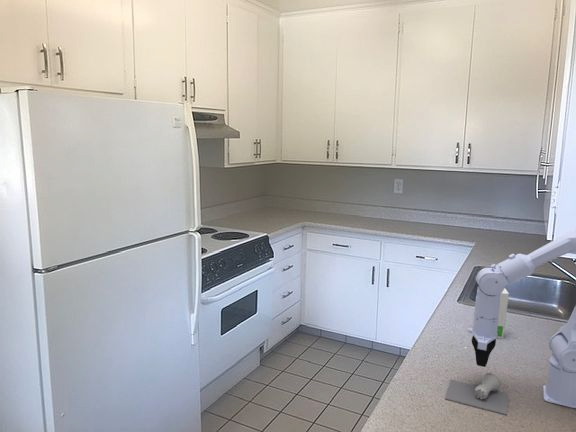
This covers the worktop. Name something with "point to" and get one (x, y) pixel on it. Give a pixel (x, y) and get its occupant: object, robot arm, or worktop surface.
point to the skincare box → (502, 313)
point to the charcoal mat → (466, 395)
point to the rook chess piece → (487, 385)
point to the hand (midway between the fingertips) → (481, 365)
